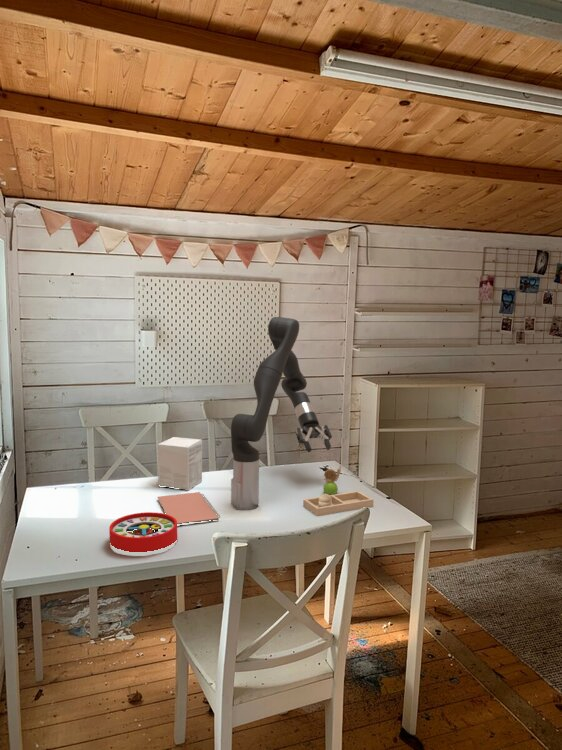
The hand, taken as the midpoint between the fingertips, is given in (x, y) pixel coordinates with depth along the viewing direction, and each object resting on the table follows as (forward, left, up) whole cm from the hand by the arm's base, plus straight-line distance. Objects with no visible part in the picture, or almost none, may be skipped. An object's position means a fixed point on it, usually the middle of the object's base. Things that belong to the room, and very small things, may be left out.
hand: (319, 450), depth 223 cm
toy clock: (-74, -23, -16) cm, 79 cm away
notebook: (-54, -3, -16) cm, 57 cm away
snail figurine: (0, -10, -15) cm, 18 cm away
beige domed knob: (-11, -23, -14) cm, 29 cm away
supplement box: (-49, +25, -15) cm, 57 cm away
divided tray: (-5, -23, -15) cm, 28 cm away
